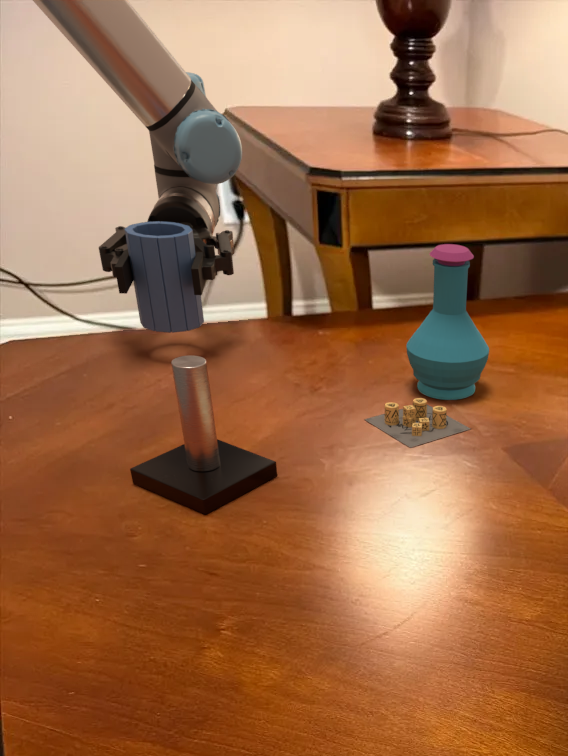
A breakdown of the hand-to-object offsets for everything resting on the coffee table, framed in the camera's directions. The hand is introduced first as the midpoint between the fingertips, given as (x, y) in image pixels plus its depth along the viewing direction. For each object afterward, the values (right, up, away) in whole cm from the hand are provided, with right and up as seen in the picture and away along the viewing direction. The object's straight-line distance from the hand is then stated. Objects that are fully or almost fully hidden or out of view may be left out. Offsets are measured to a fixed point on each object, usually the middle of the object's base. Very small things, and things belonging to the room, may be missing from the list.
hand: (158, 281), depth 92 cm
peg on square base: (+9, -24, -13) cm, 29 cm away
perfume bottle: (+30, -10, +7) cm, 33 cm away
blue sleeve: (-1, -2, +8) cm, 8 cm away
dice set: (+28, -16, -1) cm, 32 cm away
